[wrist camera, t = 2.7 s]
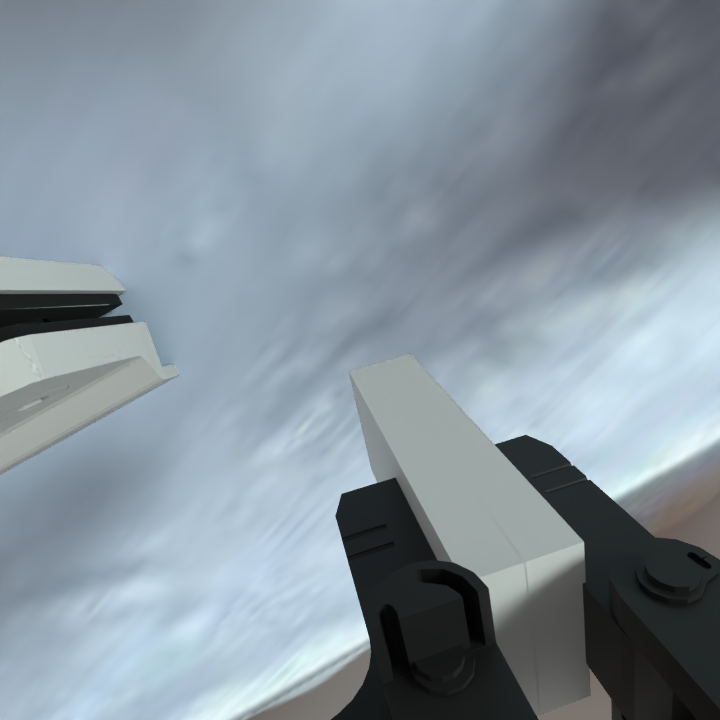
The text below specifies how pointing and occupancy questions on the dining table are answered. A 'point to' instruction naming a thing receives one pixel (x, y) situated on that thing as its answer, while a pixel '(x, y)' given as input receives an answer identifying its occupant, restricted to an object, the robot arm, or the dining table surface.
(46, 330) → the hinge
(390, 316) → the dining table surface
